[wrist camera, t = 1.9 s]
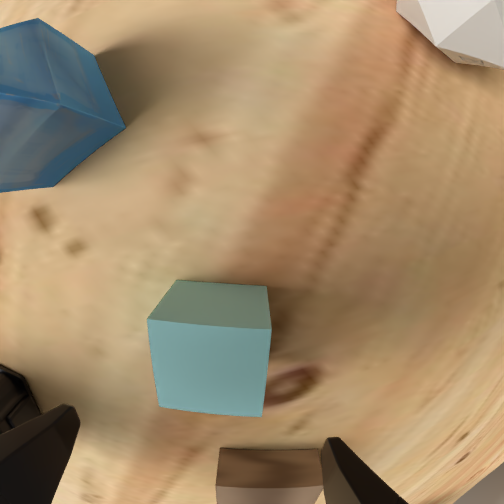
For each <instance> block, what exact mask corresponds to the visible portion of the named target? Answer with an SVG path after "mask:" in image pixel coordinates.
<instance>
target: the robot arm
mask: <svg viewBox="0 0 504 504" xmlns="http://www.w3.org/2000/svg"><path fill="white" fill-rule="evenodd" d="M79 428H80V419H79V417H78V415H77V412H76V410H75V408H74V407H73V406H71V405H69V404H62V405H60V406H58V407H56V408H54V409H52V410H50V411H48V412H46V413H44V414H42V415H41V413H40V411H39V409H38V407H37V405H36V403H35V401H34V399H33V396H32V394H31V392H30V390H29V387H28V385H27V383H26V380H25V379H24V377H23V376H21V375H19V374H17V373H15V372H13V371H11V370H8V369H6V368H4V367H2V366H0V504H51V503H52V500H53V498H54V495H55V492H56V490H57V487H58V485H59V482H60V480H61V477H62V475H63V473H64V470H65V468H66V466H67V463H68V461H69V459H70V456H71V453H72V450H73V447H74V443H75V440H76V437H77V434H78V431H79ZM321 464H322V477H323V489H324V496H325V500H326V504H408V503H407V502H406V501H405V500H404V499H403V498H401V497H400V496H399V495H398V494H397V493H396V492H395V491H394V490H393V489H391V488H390V487H389V486H388V485H387V484H386V483H385V482H384V481H383V480H382V479H381V478H380V477H379V476H378V475H377V474H376V473H374V472H373V471H372V470H371V469H370V468H369V467H368V466H367V465H366V464H365V463H364V462H363V461H362V460H361V459H360V458H359V457H358V456H357V455H356V454H355V453H354V452H353V451H352V450H351V449H350V448H349V447H348V446H347V445H346V444H345V443H344V442H343V441H342V440H341V439H340V438H339V437H329V438H327V439H326V440H325V443H324V446H323V448H322V451H321Z"/></svg>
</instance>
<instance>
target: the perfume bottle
mask: <svg viewBox="0 0 504 504" xmlns="http://www.w3.org/2000/svg"><path fill="white" fill-rule="evenodd" d="M125 128H126V126H125V124H124V122H123V120H122V118H121V116H120V114H119V111H118V109H117V107H116V105H115V103H114V100H113V98H112V96H111V94H110V92H109V89H108V87H107V85H106V82H105V80H104V78H103V75H102V73H101V71H100V68H99V66H98V64H97V61H96V59H95V56H94V55H93V54H91V53H90V52H89V51H87V50H86V49H84V48H83V47H81V46H80V45H78V44H77V43H75V42H74V41H73V40H71V39H70V38H68V37H67V36H65V35H64V34H62V33H61V32H59V31H57V30H56V29H54V28H53V27H51V26H50V25H48V24H47V23H45V22H43V21H42V20H40V19H39V18H36V19H32V20H28V21H24V22H20V23H16V24H13V25H9V26H6V27H3V28H0V193H2V192H10V191H18V190H27V189H36V188H47V187H54V186H55V185H56V184H57V183H58V182H59V181H60V180H61V179H62V178H63V177H65V176H66V175H67V174H68V173H69V172H70V171H71V170H73V169H74V168H75V167H76V166H77V165H78V164H80V163H81V162H82V161H83V160H85V159H86V158H87V157H88V156H89V155H91V154H92V153H93V152H94V151H96V150H97V149H98V148H100V147H101V146H102V145H104V144H105V143H106V142H107V141H109V140H110V139H112V138H113V137H114V136H116V135H117V134H118V133H120V132H121V131H123V130H124V129H125Z"/></svg>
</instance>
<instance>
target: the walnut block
mask: <svg viewBox="0 0 504 504" xmlns="http://www.w3.org/2000/svg"><path fill="white" fill-rule="evenodd" d="M322 490H323V477H322V468H321V464H320V459H319V454H318V449H307V450H242V449H227V448H220V452H219V461H218V469H217V478H216V499H217V504H314V503H315V502H316V500H317V498H318V497H319V495H320V493H321V491H322Z"/></svg>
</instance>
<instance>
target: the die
mask: <svg viewBox="0 0 504 504" xmlns="http://www.w3.org/2000/svg"><path fill="white" fill-rule="evenodd" d="M396 12H398V13H399V14H400V15H401V16H403V17H404V18H405V19H406V20H407V21H409V22H410V23H411V24H412V25H413V26H414V27H415V28H417V29H418V30H419V31H420V32H421V33H422V34H423V35H424V36H425V37H426V38H427V39H429V40H430V41H431V42H432V43H433V44H434V45H435V46H436V47H437V48H438V49H439V50H441V51H442V52H443V53H444V54H446V55H447V56H448V57H449V58H450V59H451V60H453V61H454V62H455V63H463V64H471V65H479V66H486V67H492V68H497V69H503V70H504V0H397V6H396Z"/></svg>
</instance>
